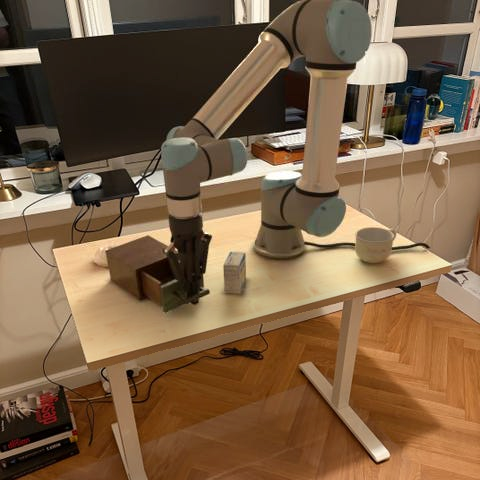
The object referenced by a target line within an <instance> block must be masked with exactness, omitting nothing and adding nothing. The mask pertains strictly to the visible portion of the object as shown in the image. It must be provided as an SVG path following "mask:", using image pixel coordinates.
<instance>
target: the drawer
mask: <svg viewBox="0 0 480 480" xmlns="http://www.w3.org/2000/svg"><path fill="white" fill-rule="evenodd" d="M179 263H180V260H179ZM200 276H201V277H202V279H201V280H199V283H200V288H199V289H198V293H197V294H195V295H192V296H190V297H188V298H187V293H186V292H185V291H184V284H183V283H181V282H179V281H178V280H176V279H175V276H174V274H173V271H172V268H171V266H170V263H169V260H167V261H164V262H162V263H159V264H157V265H154V266H152V267H149V268H147V269H144V270H142V271H139V277H140V283H141V290H142V294H144V295H145V296H146V297H148V298H147V299H149V300H151V301H152V302H154V303H155V304H156V305H158V306H160V307H161V310H162V313H164V314H168V313H169V312H171V311H173V310H176V309H178V308H180V307H182V306H184V305H189V304H192V303H191V302H193V301H195V300H198V299H199V300H200V299H201V298H204V297H206V296H208V295H210V293H211V290H210V289H209V288H205V283H204V281H205V279H204V274H201V275H200ZM191 277H192V276H191Z"/></svg>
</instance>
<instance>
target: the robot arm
mask: <svg viewBox="0 0 480 480" xmlns="http://www.w3.org/2000/svg"><path fill="white" fill-rule="evenodd" d="M372 29H373V28H372V20H371V18H370V15H369V13H368V12H367V9H366V8H365V6H363V4H362V3H360V2H358V1H355V0H299V1H296V2H295V3H293V4H291V5H290V6H289V7H287V8H286V9H285V10H283V11H282V12H281V13H279V15H277V16H276V17H275V18H274V19H273V20H272V21H271V22H270V23H269V24H268V25H267V26H266V28H265V29H264V30H263V31H262V32H261V33H260V34H259V36H258V43H257V44H256V46H254V48H253V49H252V50H251V51H250V52H249V54H248V55H247V56H246V57H245V58H244V59H243V60H242V61H241V63H240V64H239V65H238V66H237V67H236V68H235V69H234V70H233V71H232V73H231V74H230V75H229V76H228V77H227V78H226V80H225V81H224V82H223V83H222V84H221V85H220V86H219V87H218V88H217V90H216V91H215V92H214V93H213V94H212V95H211V97H210V98H209V99H208V100H207V101H206V102H205V104H204V105H202V107H201V108H200V109H199V110H198V111H197V113H196V114H195V115H194V116H193V117H192V118H191V119H190V120H189V121H188V122H187V124H186V125H182V126H181V125H180V126H175V127H173V128H172V129H170V130H169V132H168V133H167V136H166V140H165V141H164V142H163V143H162V145H161V146H160V150H161V153H160V155H161V157H160V158H161V168H162V173H163V183H164V190H165V197H166V199H165V200H166V207H167V214H168V216H167V219H168V226H169V227H168V228H169V231H170V234H171V236H170V240H169V241H170V243H169V245H167V246H168V247H167V248H163V250H162V251H163V253H164V254H165V255H166V256H167V258H168V260H169V263H170V266H171V268H172V271H173V274H174V276H175V279H176V280H178V281H179V282H181V283H183V284H184V291H185V292H186V293H187V298H188V297H190V296H192V295H195V294H197V293H198V289H199V288H200V283H199V280H201V279H202V277H201V276H200V275H201V274H203V275H205V274H206V273H207V272H206V271H207V264H208V256H209V249H210V244H211V241H212V239H213V234H210V233H208V232H207V231H204V230H203V228H204V220H203V213H202V211H203V205H202V195H201V184H202V183H206V182H209V181H213V180H217V179H221V178H225V177H228V176H229V177H231V176H234V175H235V174H238V173H241V172H243V171H244V170H245V169H246V167H247V164H248V151H247V148H246V146H245V143H244V142H243V141H242V140H241V139H240V138H237V137H231V138H225V139H220V137H221V136H222V135H223V134H224V133H225V132H226V131H227V129H228V128H229V127H230V126H231V125H232V124H233V123H234V122H235V120H236V119H237V118H238V117H239V116H240V115H241V114H242V113H243V111H244V110H245V109H246V108H247V107H248V105H250V104H251V102H253V100H254V99H255V98H256V97H257V95H258V94H259V93H260V92H261V91H262V90H263V89H264V88H265V87H266V85H267V84H268V83H269V82H270V81H271V80H272V79H273V77H274V76H275V75H276V74H277V73H278V72H279V71H280V69H286V68H288V67H289V66H290V65H291V63H293V61H295V60H297V59H298V58H301V57H305V68H304V69H306V72H308V74H309V75H310V84H309V93H308V95H309V96H308V107H307V118H306V128H305V137H304V149H303V161H302V171H301V173H300V172H298V171H288V170H287V171H277V172H276V171H275V172H272V173H269V174H267V175H265V176H264V177H263V179H262V181H261V188H260V225H259V229H258V232H257V234H256V236H255V238H254V250H255V252H256V253H257V254H259V255H261V256H262V257H265V258H268V259H271V260H272V259H273V260H285V259H286V260H289V259H293V258H296V257H299V256H300V255H301V254H303V253H304V251H305V245H306V246H311V247H315V248H321V249H328V248H329V249H330V248H335V247H344V246H345V247H346V246H347V247H355V242H336V243H329V244H328V243H327V244H320V243H315V242H310V241H305V239H304V236H303V232H305V233H306V234H308V235H311V236H314V237H316V238H325V237H328V236H330V235H332V234H333V233H334V232H336V230H337V229H338V228H339V227H340V225H341V224H342V223H343V221H344V219H345V216H346V212H347V204H346V202H345V200H344V198H342V197H341V196H339V194H340V187H341V185H340V183H339V182H338V181H337V179H336V174H337V173H336V172H337V165H338V158H339V150H340V143H341V142H340V141H341V134H342V125H343V118H344V113H345V112H344V110H345V104H346V103H345V102H346V95H347V88H348V87H347V86H348V81H349V80H348V79H349V78H350V76H352V74H353V73H354V72H356V69H357V63H358V62H360V61H361V60H362V59H363V58H364V57H365V56H366V52H368V50H369V49H370V45H371V41H372V34H373V32H372V31H373V30H372ZM302 231H303V232H302ZM417 247H424V248H426V249H431V247H430V246H429V244H428V243H425V242H417V243H412V244H408V245H398V246H392V250H391V251H397V250H407V249H408V250H409V249H412V248H417ZM175 250H176V251H178V254H179V257H180V263H179V260H178V258H177V256H176V255H175V254H176V251H175ZM191 276H192V277H191ZM199 303H200V299H198V300H195V301H193V302H191V303H190V304H191V305H194V306H195V305H198V304H199Z"/></svg>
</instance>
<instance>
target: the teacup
mask: <svg viewBox="0 0 480 480" xmlns="http://www.w3.org/2000/svg"><path fill="white" fill-rule="evenodd" d="M396 237H397V231H396V229H394V228H389V229H386V228H382V227H365V228H361V229H358V230H356V232H355V242H354V243H355V246H354V251H355V254H356V256H357V258H359V259H360V260H362V262H364V263H367V264H369V263H370V264H378V263H382V262H383V261H385V260H387V259H388V258H389V257H390V256H391V254H392V251H393V250H392V247H393V243H394V241H395V239H396Z"/></svg>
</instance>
